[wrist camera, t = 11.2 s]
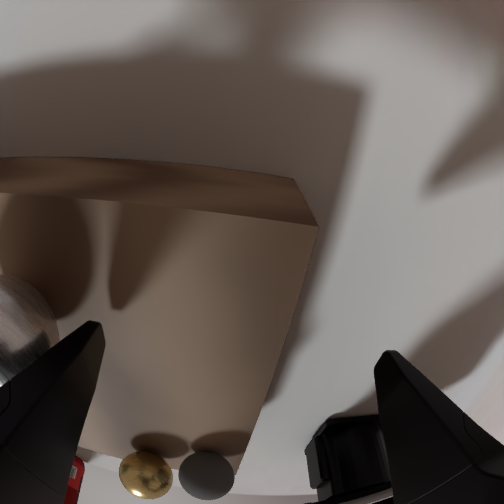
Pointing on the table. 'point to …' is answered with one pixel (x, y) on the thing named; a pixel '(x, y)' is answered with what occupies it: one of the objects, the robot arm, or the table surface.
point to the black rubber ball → (206, 475)
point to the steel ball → (23, 326)
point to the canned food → (74, 482)
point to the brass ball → (145, 474)
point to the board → (163, 289)
